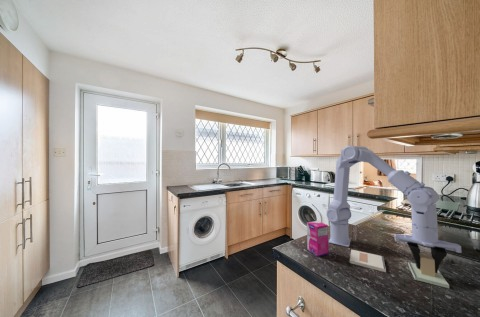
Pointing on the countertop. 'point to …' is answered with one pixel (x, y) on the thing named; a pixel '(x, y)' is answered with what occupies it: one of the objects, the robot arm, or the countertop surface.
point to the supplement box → (317, 238)
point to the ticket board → (367, 260)
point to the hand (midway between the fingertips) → (426, 269)
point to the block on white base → (427, 271)
